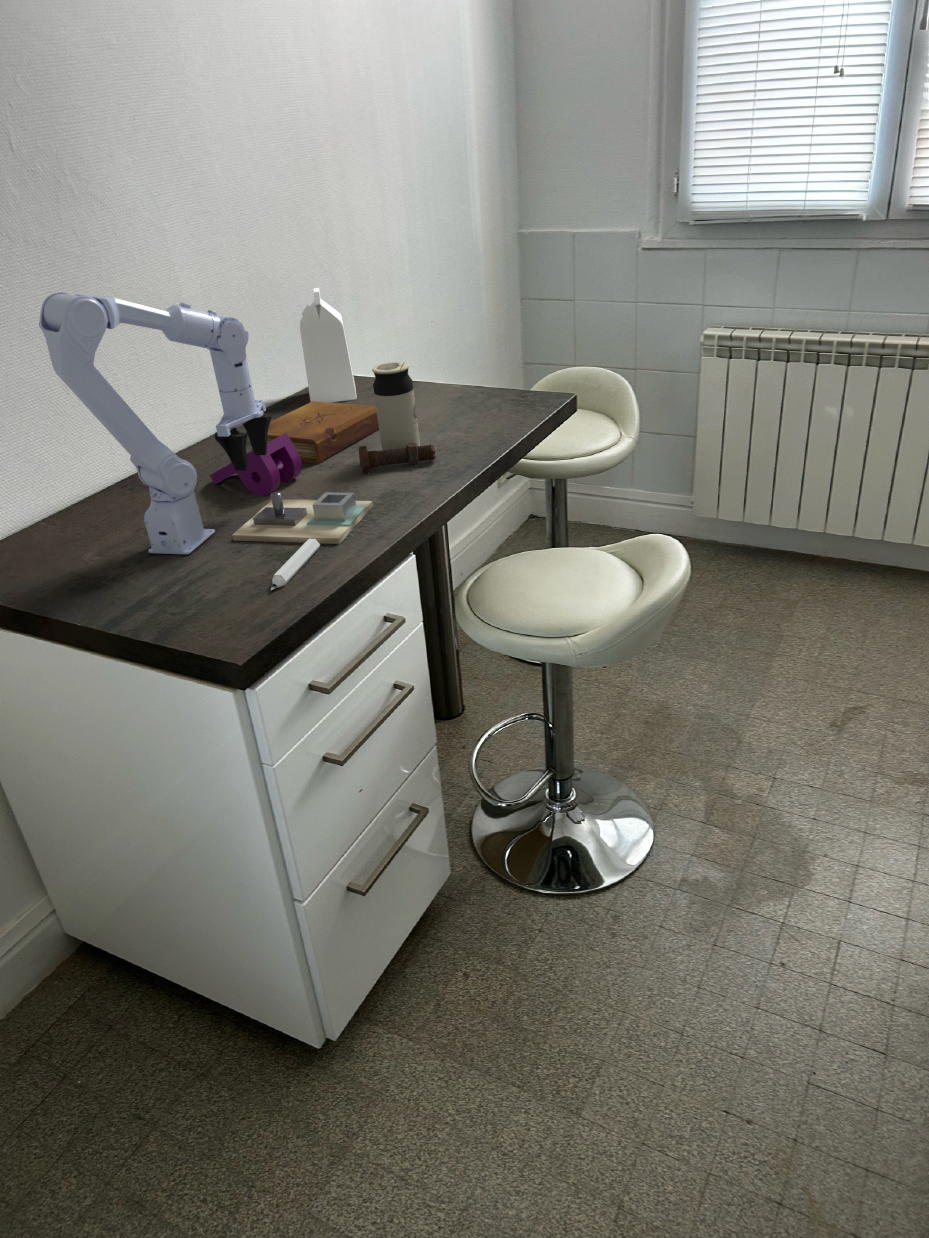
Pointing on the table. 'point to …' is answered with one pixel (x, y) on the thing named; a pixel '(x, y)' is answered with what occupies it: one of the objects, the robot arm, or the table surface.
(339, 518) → the square hollow frame
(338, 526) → the board
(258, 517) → the peg base
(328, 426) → the diary
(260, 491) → the mounting bracket
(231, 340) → the robot arm
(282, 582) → the marker
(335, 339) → the milk
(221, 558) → the table surface
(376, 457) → the bolt
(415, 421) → the travel mug
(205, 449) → the table surface
